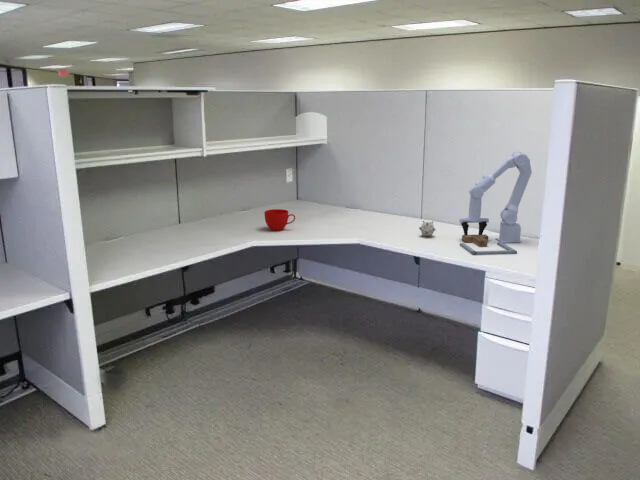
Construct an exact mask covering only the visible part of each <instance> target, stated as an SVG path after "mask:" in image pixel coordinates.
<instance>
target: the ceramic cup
mask: <svg viewBox="0 0 640 480" xmlns="http://www.w3.org/2000/svg"><path fill="white" fill-rule="evenodd" d="M263 213H264V220H265V223H266V225H267V227H268V228H269V229H270V231H274V232H279V231H283V230H284V229H285V228H286V226H287V225H289V224H292V223H294V221H295V220H296V214H293V213H290V214H289V210H287V209H282V208H278V209H276V208H274V209H268V210H267V209H266V210H264V212H263ZM291 216H293V219H292V220H291V221H289V217H291ZM288 221H289V222H288Z"/></svg>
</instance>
